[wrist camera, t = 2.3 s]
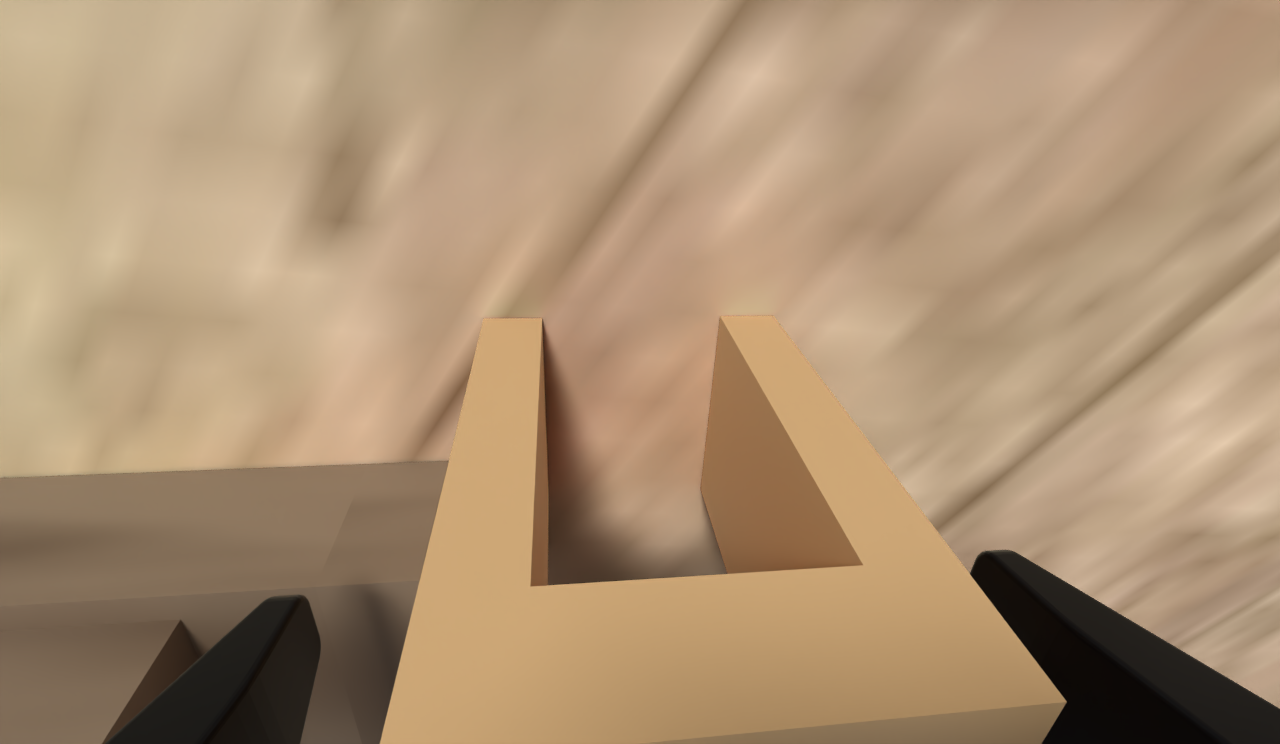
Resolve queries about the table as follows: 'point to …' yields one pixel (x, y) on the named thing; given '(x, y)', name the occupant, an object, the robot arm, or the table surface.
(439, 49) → the table surface
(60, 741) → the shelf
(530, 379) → the clip
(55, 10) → the table surface
